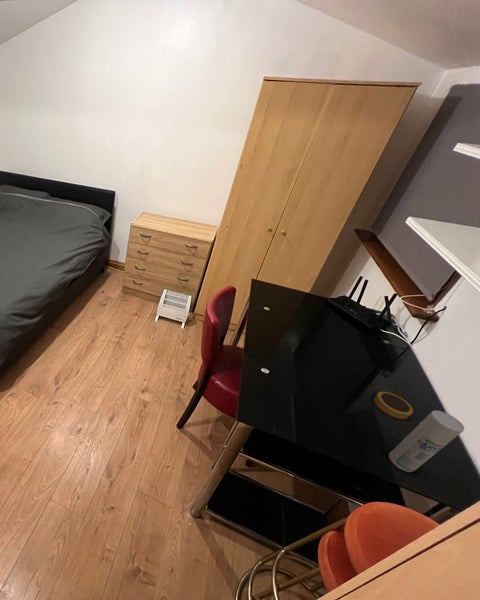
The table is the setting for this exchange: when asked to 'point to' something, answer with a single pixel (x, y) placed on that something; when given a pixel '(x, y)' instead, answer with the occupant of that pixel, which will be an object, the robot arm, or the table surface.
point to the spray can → (425, 440)
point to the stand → (393, 405)
